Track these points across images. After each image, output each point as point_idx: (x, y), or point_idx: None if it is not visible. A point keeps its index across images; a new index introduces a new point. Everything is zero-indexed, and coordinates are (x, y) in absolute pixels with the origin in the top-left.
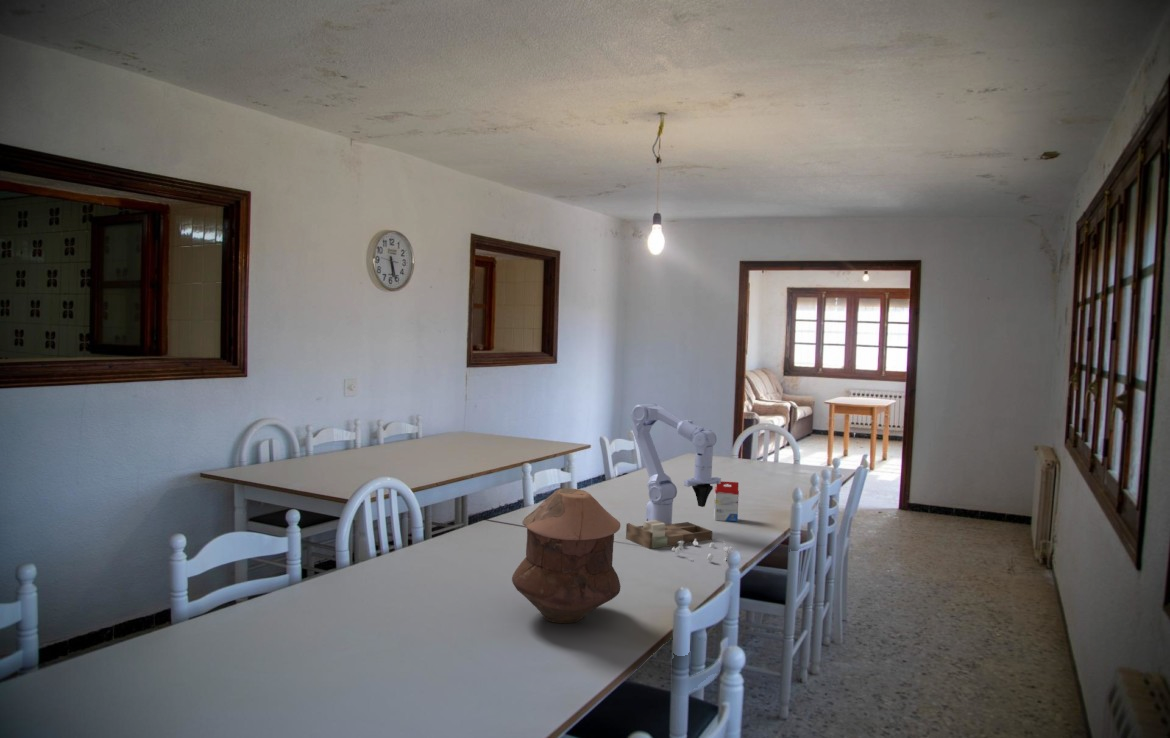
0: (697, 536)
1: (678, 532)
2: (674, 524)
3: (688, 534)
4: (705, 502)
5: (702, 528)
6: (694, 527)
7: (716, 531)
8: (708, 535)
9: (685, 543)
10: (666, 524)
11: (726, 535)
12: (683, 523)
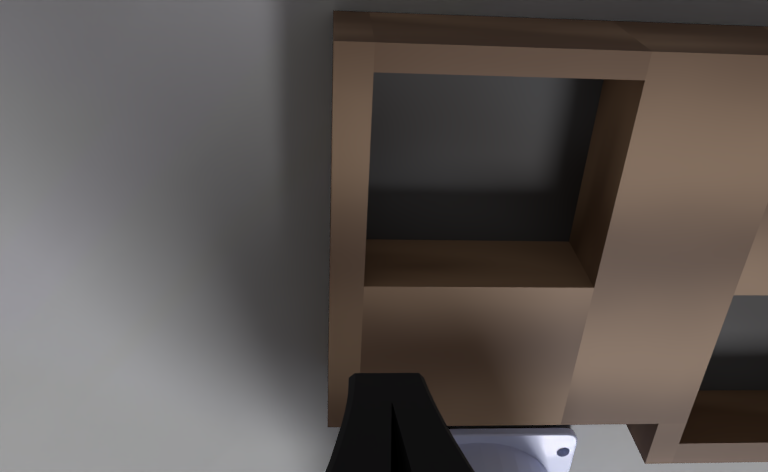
0: (579, 35)
1: (762, 166)
2: (522, 405)
3: (739, 52)
4: (362, 417)
5: (365, 188)
6: (385, 280)
7: (50, 251)
8: (396, 29)
9: (726, 25)
10: (499, 470)
11: (28, 88)
12: None
